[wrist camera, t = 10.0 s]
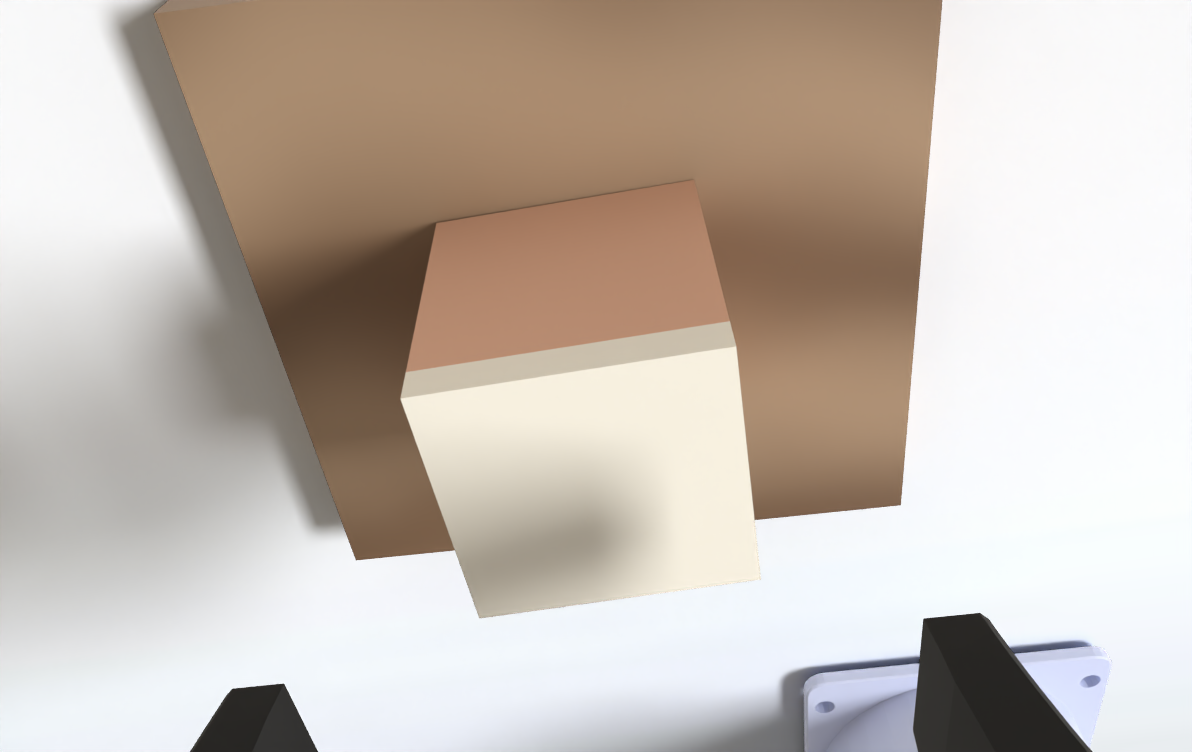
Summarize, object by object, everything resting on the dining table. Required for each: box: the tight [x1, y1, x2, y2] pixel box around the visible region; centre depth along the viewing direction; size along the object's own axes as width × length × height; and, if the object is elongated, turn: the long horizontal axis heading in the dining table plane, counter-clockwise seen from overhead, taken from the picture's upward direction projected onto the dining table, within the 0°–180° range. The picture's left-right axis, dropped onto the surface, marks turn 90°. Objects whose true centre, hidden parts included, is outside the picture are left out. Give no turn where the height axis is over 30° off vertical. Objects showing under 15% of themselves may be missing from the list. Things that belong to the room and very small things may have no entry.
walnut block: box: [154, 0, 942, 560], centre depth 19 cm, size 12×12×2 cm
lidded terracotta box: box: [400, 180, 761, 618], centre depth 17 cm, size 4×4×5 cm
